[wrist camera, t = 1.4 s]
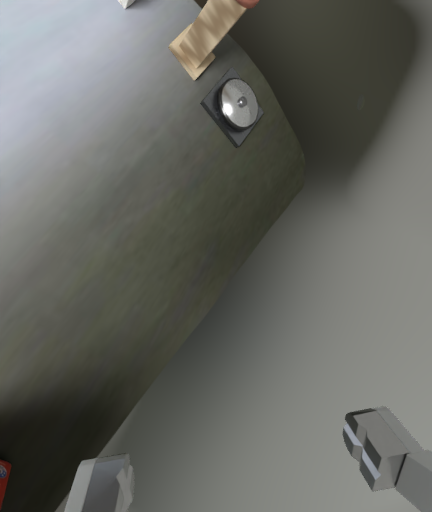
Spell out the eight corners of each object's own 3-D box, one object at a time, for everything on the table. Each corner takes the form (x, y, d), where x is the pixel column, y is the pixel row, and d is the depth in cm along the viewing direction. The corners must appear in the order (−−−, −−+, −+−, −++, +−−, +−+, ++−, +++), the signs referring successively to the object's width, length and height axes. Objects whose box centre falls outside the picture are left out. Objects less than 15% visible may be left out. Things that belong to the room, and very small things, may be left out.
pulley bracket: (200, 103, 45) (210, 93, 42) (229, 69, 48) (240, 58, 45) (235, 147, 50) (247, 142, 47) (260, 114, 53) (272, 107, 50)
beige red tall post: (168, 47, 42) (221, -42, 29) (188, 27, 43) (247, -66, 30) (194, 80, 44) (253, 13, 31) (212, 60, 46) (275, -12, 33)
